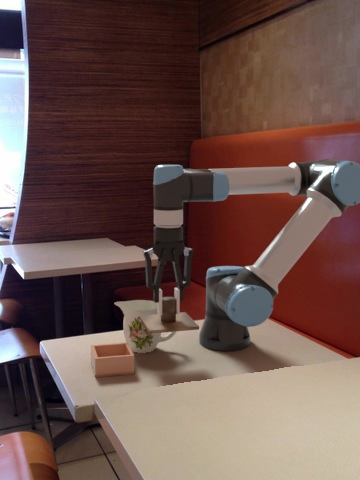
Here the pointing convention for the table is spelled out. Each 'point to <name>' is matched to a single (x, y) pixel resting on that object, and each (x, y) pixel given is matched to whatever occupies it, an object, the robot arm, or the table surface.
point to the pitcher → (140, 325)
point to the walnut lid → (168, 319)
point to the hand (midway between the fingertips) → (168, 313)
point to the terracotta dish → (112, 359)
